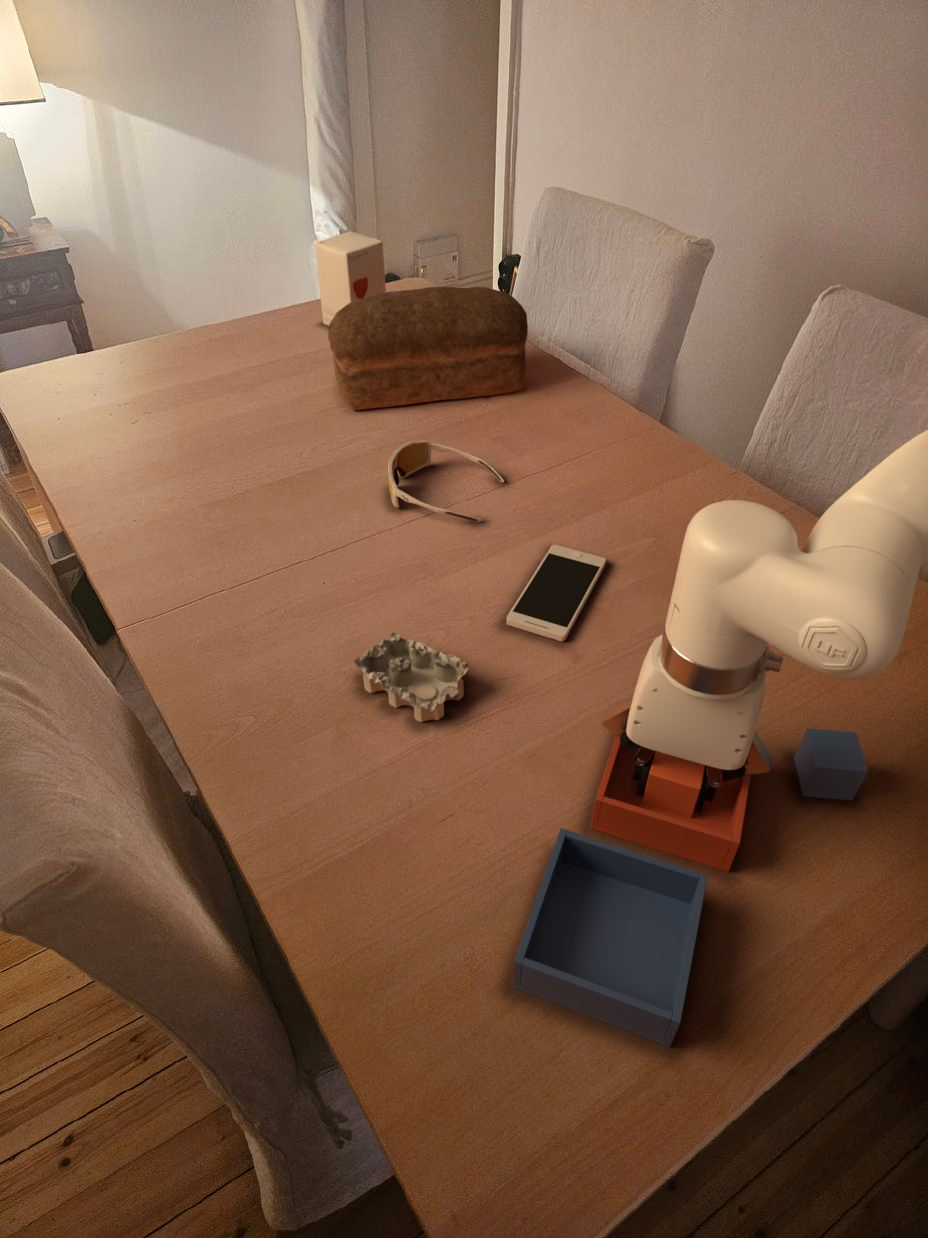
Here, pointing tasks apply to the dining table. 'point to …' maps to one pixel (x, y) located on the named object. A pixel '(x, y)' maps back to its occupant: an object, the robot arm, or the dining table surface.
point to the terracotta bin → (670, 816)
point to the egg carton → (413, 675)
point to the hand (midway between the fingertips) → (671, 790)
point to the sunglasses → (416, 458)
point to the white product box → (348, 271)
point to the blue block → (830, 764)
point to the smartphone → (556, 592)
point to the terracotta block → (673, 784)
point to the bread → (428, 346)
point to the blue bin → (612, 936)
